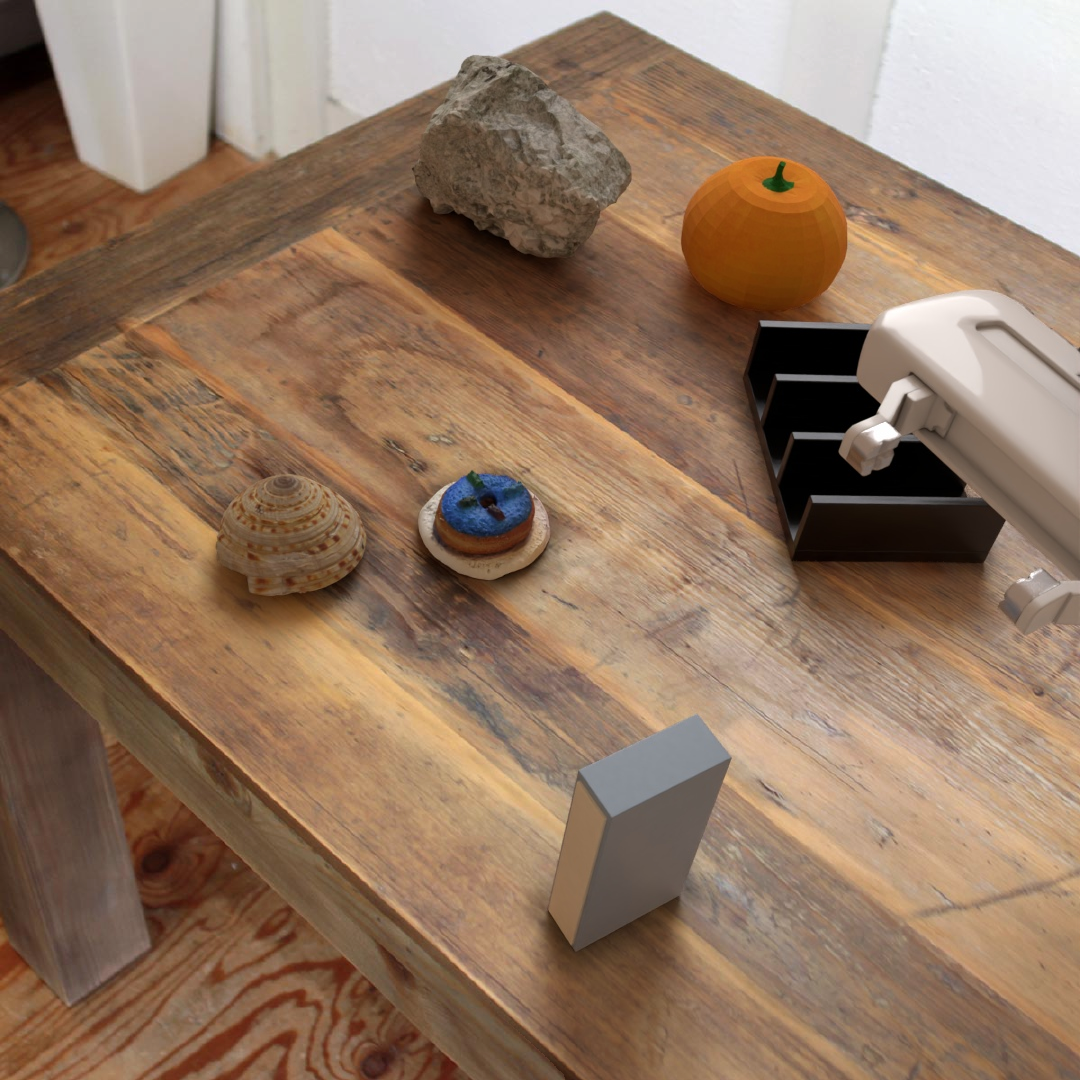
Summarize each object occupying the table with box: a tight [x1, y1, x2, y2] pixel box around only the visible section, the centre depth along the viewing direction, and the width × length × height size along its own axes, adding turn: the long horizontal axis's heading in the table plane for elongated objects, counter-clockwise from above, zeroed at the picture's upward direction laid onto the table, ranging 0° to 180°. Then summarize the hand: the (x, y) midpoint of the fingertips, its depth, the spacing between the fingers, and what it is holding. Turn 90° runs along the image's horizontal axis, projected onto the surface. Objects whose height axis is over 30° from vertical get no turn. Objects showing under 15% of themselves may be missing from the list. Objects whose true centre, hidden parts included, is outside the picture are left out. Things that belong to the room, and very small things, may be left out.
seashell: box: [215, 473, 368, 597], centre depth 75 cm, size 8×6×8 cm
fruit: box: [680, 155, 848, 313], centre depth 94 cm, size 12×12×10 cm
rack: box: [742, 319, 1007, 564], centre depth 83 cm, size 12×16×5 cm
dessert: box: [417, 469, 551, 581], centre depth 78 cm, size 8×7×6 cm
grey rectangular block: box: [547, 713, 733, 952], centre depth 59 cm, size 2×6×12 cm, turn 121°
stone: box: [411, 54, 633, 259], centre depth 96 cm, size 10×12×15 cm
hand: (930, 529), depth 53 cm, fingers open, 8 cm apart
